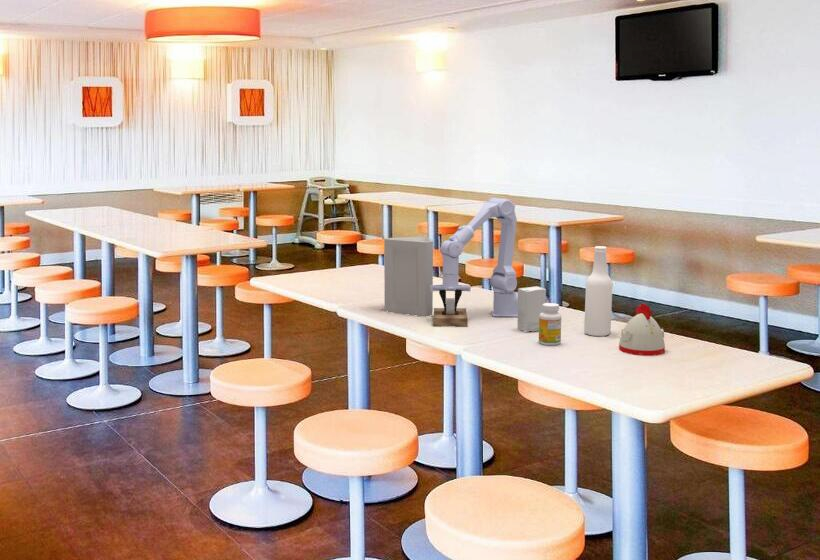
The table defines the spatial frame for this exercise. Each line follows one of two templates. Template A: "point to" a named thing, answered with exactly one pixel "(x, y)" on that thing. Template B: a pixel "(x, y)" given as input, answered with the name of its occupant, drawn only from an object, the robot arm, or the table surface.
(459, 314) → the well block
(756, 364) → the table surface
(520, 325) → the skincare box
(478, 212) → the robot arm
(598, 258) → the alcohol
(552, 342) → the supplement bottle
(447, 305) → the brushed metal block
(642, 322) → the kitchen timer
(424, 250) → the tall grey carton
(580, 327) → the table surface
